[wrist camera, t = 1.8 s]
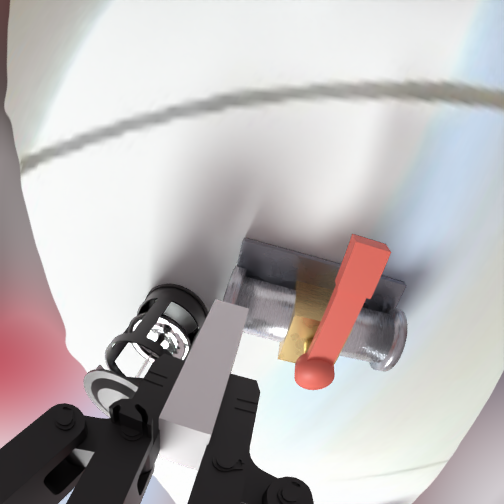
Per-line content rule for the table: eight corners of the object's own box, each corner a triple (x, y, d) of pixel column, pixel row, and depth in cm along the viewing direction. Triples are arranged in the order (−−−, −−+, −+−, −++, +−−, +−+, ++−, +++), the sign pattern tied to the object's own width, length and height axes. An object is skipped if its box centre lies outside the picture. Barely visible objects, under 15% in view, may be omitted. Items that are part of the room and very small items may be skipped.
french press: (141, 274, 40) (33, 395, 19) (209, 284, 39) (127, 436, 18) (150, 342, 44) (77, 462, 23) (209, 354, 43) (155, 493, 22)
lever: (325, 381, 28) (325, 392, 27) (290, 373, 28) (289, 385, 27) (390, 245, 22) (395, 253, 21) (347, 232, 22) (350, 239, 21)
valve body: (225, 320, 40) (203, 375, 31) (244, 237, 35) (223, 280, 26) (365, 355, 39) (376, 412, 30) (404, 281, 35) (431, 333, 25)
